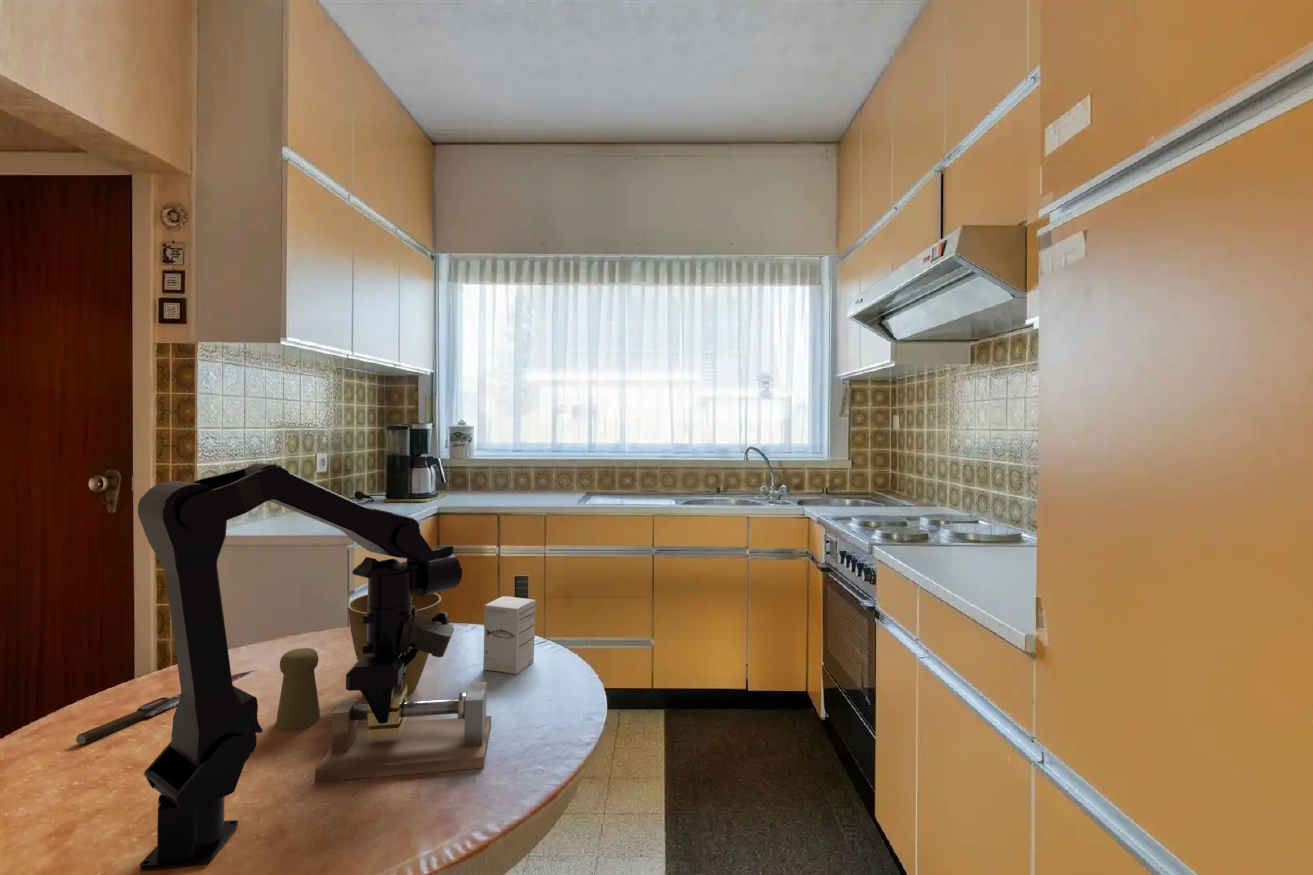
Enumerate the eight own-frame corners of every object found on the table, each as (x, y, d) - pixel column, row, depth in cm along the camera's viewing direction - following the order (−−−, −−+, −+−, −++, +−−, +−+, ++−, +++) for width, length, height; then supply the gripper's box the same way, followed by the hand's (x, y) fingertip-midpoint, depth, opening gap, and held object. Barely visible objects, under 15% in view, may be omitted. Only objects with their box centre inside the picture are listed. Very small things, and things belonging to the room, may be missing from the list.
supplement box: (481, 670, 114) (482, 604, 114) (502, 656, 122) (503, 594, 122) (516, 675, 112) (517, 608, 112) (535, 661, 119) (536, 598, 119)
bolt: (482, 745, 84) (482, 699, 84) (337, 756, 81) (337, 708, 81) (486, 725, 90) (486, 681, 90) (351, 734, 87) (351, 689, 87)
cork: (299, 732, 90) (301, 659, 90) (265, 727, 91) (266, 655, 91) (329, 714, 96) (330, 645, 96) (296, 710, 97) (298, 642, 97)
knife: (266, 664, 114) (88, 737, 85) (264, 673, 114) (85, 750, 85) (254, 659, 115) (73, 730, 85) (252, 669, 115) (70, 743, 85)
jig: (483, 767, 81) (484, 716, 81) (314, 781, 77) (315, 727, 77) (491, 725, 93) (491, 680, 93) (344, 735, 89) (345, 688, 89)
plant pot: (336, 715, 95) (338, 615, 95) (356, 678, 110) (358, 591, 110) (435, 705, 99) (437, 609, 99) (442, 671, 114) (444, 587, 114)
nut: (398, 735, 83) (399, 699, 83) (367, 738, 82) (368, 701, 82) (406, 718, 87) (407, 684, 87) (377, 720, 87) (377, 686, 87)
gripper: (439, 621, 77) (437, 742, 77) (458, 585, 95) (456, 683, 95) (345, 624, 75) (343, 749, 75) (383, 587, 93) (381, 687, 93)
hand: (388, 713), depth 85 cm, fingers closed on nut, 5 cm apart
